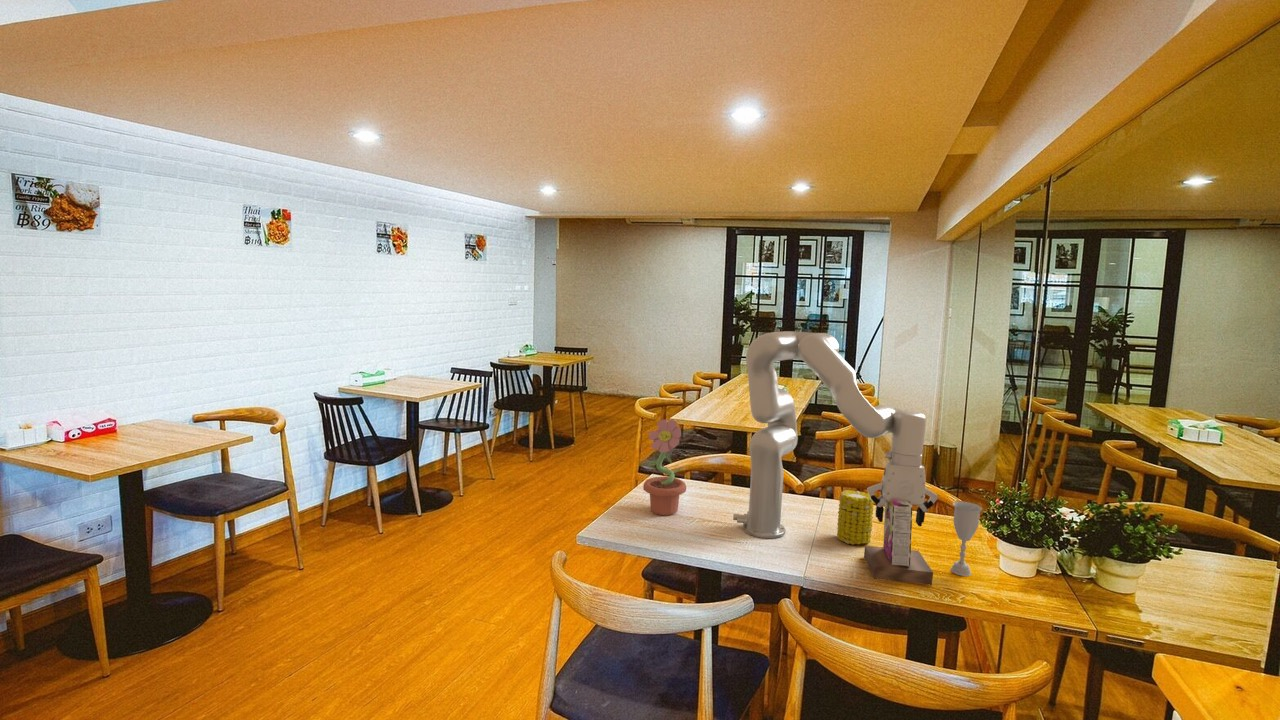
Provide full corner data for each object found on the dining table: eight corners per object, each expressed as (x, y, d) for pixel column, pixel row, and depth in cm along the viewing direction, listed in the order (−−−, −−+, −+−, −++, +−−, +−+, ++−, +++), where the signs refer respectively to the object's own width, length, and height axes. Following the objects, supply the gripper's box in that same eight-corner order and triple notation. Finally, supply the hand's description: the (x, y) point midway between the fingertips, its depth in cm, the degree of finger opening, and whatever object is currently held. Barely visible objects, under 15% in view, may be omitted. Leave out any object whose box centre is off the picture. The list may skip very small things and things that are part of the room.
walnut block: (873, 581, 159) (875, 566, 159) (863, 559, 172) (864, 545, 171) (931, 587, 157) (933, 572, 157) (917, 564, 170) (918, 550, 169)
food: (836, 549, 181) (840, 538, 190) (879, 547, 176) (881, 536, 185) (828, 496, 181) (832, 488, 190) (871, 494, 176) (872, 485, 185)
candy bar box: (881, 548, 170) (884, 489, 168) (901, 549, 169) (904, 491, 167) (889, 566, 159) (892, 504, 157) (910, 567, 158) (913, 505, 156)
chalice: (974, 580, 160) (981, 513, 158) (945, 573, 164) (951, 507, 162) (976, 570, 166) (983, 505, 164) (948, 563, 170) (954, 499, 168)
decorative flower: (631, 511, 200) (634, 420, 196) (654, 500, 211) (658, 413, 208) (670, 523, 192) (674, 427, 188) (693, 510, 203) (697, 420, 199)
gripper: (873, 459, 159) (867, 524, 161) (945, 466, 156) (938, 531, 158) (868, 452, 166) (862, 513, 168) (937, 458, 163) (930, 520, 165)
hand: (899, 522), depth 163 cm, fingers open, 9 cm apart
